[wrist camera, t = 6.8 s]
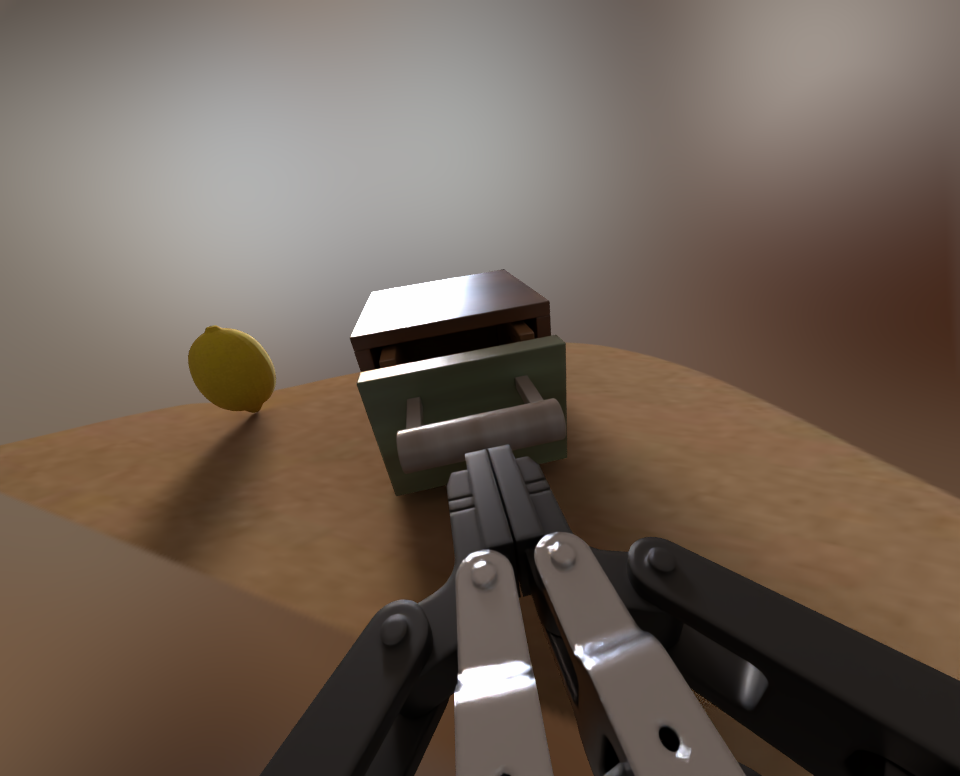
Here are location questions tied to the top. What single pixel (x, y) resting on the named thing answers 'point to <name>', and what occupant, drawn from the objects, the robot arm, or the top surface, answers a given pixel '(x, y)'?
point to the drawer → (466, 401)
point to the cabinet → (445, 311)
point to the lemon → (231, 369)
